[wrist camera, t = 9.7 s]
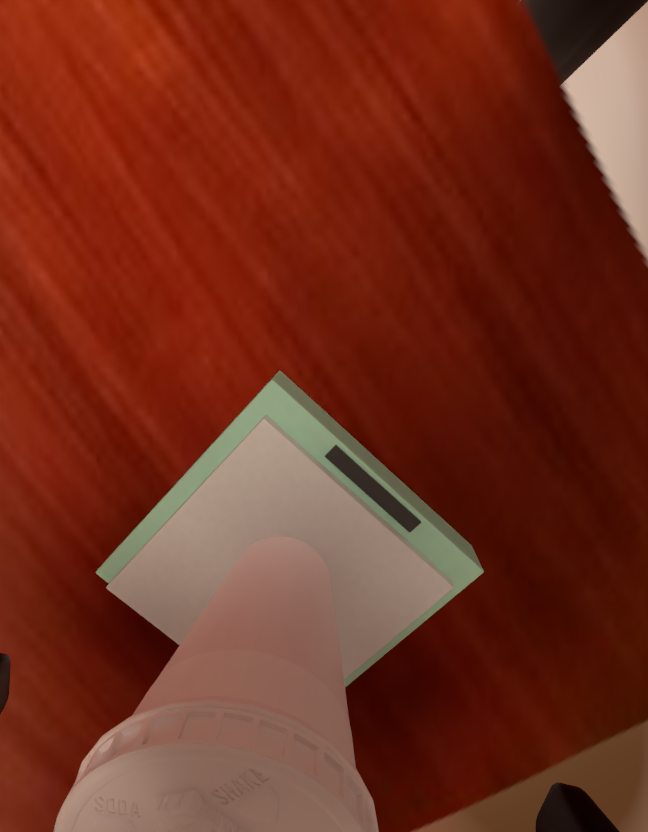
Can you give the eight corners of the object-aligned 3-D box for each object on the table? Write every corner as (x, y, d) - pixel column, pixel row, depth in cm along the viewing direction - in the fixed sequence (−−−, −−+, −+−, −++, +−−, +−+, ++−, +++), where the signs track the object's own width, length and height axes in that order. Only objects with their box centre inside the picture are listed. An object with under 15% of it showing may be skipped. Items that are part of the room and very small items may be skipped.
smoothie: (231, 663, 20) (-36, 1498, 6) (175, 525, 18) (-340, 1221, 5) (384, 631, 19) (469, 1509, 5) (339, 484, 17) (298, 1181, 4)
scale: (280, 369, 19) (269, 382, 17) (472, 545, 21) (489, 581, 18) (117, 547, 21) (86, 581, 19) (299, 692, 23) (293, 742, 20)
